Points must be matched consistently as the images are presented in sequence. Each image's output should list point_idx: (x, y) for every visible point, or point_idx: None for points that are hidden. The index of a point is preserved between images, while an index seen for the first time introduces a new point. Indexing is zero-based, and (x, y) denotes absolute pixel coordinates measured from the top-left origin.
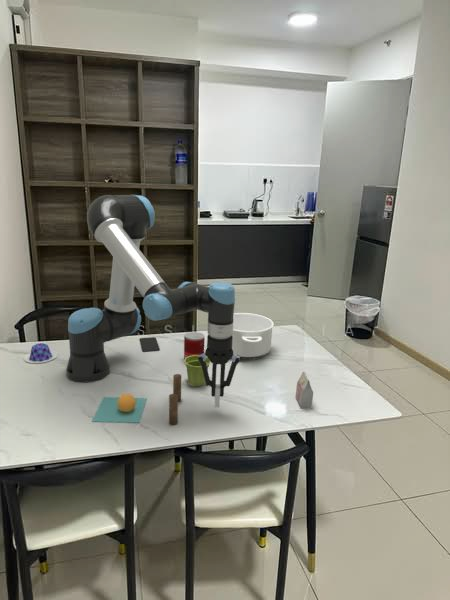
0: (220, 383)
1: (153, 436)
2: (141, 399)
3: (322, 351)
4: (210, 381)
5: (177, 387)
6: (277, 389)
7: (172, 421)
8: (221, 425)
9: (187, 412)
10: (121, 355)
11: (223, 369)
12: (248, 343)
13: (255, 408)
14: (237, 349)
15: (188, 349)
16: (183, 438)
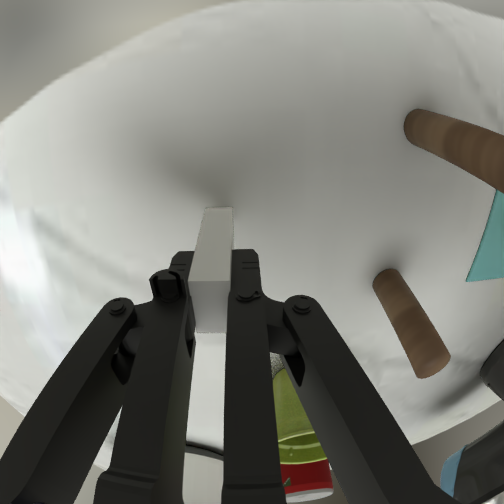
0: (180, 316)
1: (473, 53)
2: (479, 272)
3: None
4: (277, 337)
5: (418, 315)
6: (49, 348)
7: (432, 112)
8: (194, 100)
9: (359, 202)
10: (441, 410)
11: (128, 456)
12: None
13: (68, 252)
14: (185, 468)
15: (320, 463)
16: (376, 9)
